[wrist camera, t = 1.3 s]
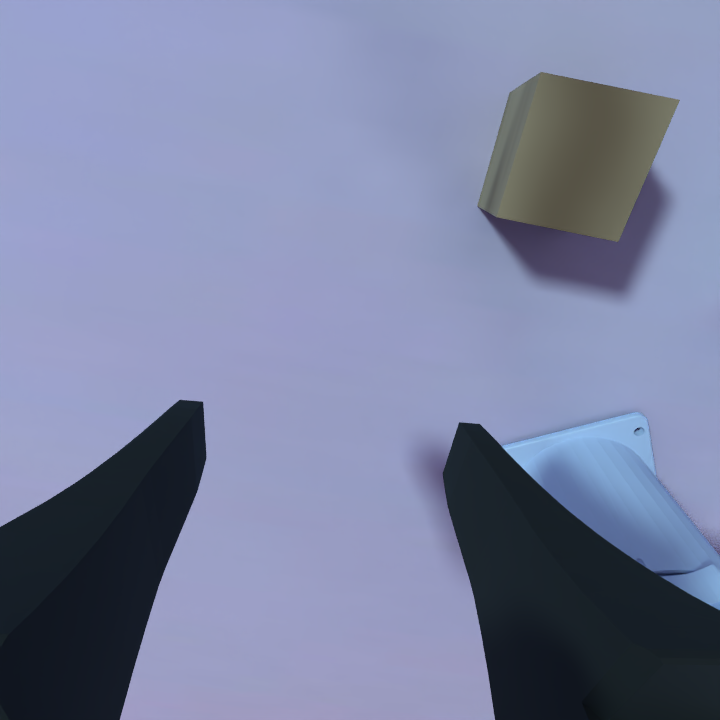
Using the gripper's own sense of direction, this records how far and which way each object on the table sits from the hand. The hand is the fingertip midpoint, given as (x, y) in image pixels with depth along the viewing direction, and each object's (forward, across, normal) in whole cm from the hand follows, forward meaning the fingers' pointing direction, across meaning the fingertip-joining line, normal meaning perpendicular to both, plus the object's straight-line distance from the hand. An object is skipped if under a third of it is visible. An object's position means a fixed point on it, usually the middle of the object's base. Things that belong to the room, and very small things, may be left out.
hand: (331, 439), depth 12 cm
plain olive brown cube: (+10, -8, -7) cm, 15 cm away
